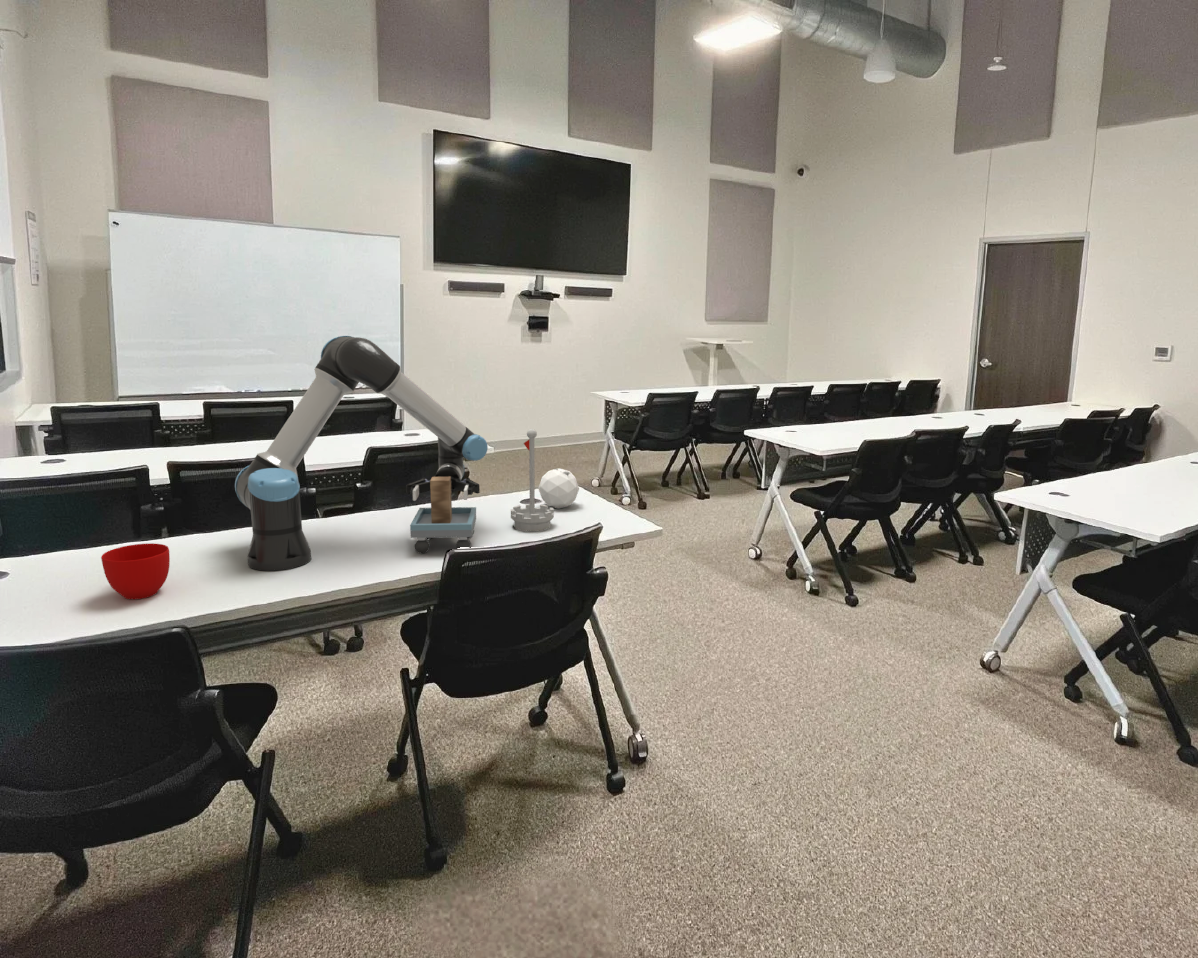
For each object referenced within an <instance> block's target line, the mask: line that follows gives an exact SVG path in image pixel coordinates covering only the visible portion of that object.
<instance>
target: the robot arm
mask: <svg viewBox="0 0 1198 958" xmlns="http://www.w3.org/2000/svg"><path fill="white" fill-rule="evenodd" d="M314 373H315V378H314V379H313V381H312V383H311V384H310V386H308V388H307V390H306V392H305V393H304V394H303V396H302V397H301V399H300V401H299V402H298V404H297V405H296V407H295V408H294V409H293V411H292V413H291V414H290V416H289V417H288V418H287V420H286V421H285V423H284V424H283V426H282V427H281V429H280V430H279V432H278V434H276V437H274V440H273V441H272V442H271V444H270V445H269V447H268V449H267V450H266V451H263V452H259V453H257V454H256V456H255V457H254V458H253V460H252V462H251V463H250V464H249V465H247V466H245V467H244V468H242V469H241V470H240V471H239V473H238V474H237V475H236V477H235V481H234V490H235V493H236V496H237V498H238V500H239V501H240V503H241V504H243V505H244V506H245V507H246V508H248V509H249V510H250V515H251V519H250V520H251V528H252V536H251V537H252V538H251V542H250V545H249V549H248V552H247V555H246V556H247V566H248V568H250V569H252V570H257V571H269V572H270V571H283V570H289V569H290V570H291V569H295V568H298V567H300V566H303V565H307V563H309V562H310V561H311V560H312V550H311V548H310V545H309V542H308V540H307V538H306V536H305V533H304V531H303V523H302V521H303V520H302V509H301V508H302V507H301V495H300V488H301V486H300V482H299V477H298V476H299V475H298V471H297V467H298V466H299V464H300V463H301V461H302V459H303V458H304V457H305V456H306V454H307V452H308V450H309V449H310V448H311V446H312V445H313V442H314V441H315V440H316V439H317V437H318V435H319V434H320V433H321V431H322V430H323V427H324V426H325V424H326V423H327V421H328V419H329V418H330V417H331V415H332V414H333V412H334V411H335V409H336V408H337V406H338V404H339V403H340V401H342V398H343V397H344V396H345V395H347V394H351V393H353V392H354V391H355V389H356V388H357V386H358V384H363V385H365V386H366V387H368V388H370V389H371V390H372V391H374V392H375V393H376V394H383V395H385V397H387V398H388V399H390V400H391V401H392V402H393V403H395V404H396V405H397V406H398V407H399V408H401V409H402V410H404V411H405V412H406V413H407V414H408V415H410V416H411V418H414V420H416V422H418V423H420V424H421V425H422V426H423V427H425V428H426V429H427V430H428V431H430V432H431V433H432V434H434V435H435V436H436V437H437V448H438V469H437V471H436V473H435V474H434V477H451V494H452V493H454V492H462V493H463V500H464V501H468V498H469V496H472V495H473V494H480V493H481V492H480V491H481V490H480V484H479V483H477V482H475V481H474V480H472V479H471V478H470V477H465V478H464V479H463V477H464V475H465V468H466V467H465V465H464V459H466V460H467V461H472V462H473V461H475V462H476V461H481V459H483V458H485V456H486V454H487V453H488V448H489V447H488V442H487V440H486V439H485V438H484V437H483V436H481V435H479V434H476V433H474V432H473V431H472V430H470V428H468V427H467V426H466V425H465V424H463V423H462V422H461V421H460V420H459V419H458V418H456V417H455V416H454V415H452V413H450V412H449V411H448V410H447V409H446V408H444V406H442V405H441V404H440V403H439V402H437V401H436V400H435V399H434V398H432V397H431V396H430V395H429V394H428V393H426V391H425V390H423V389H422V388H421V387H419V386H418V385H417V384H416V383H415V382H414V381H412V380H411V378H409V377H408V376H407V375H405V374H404V373H403V372H402V367H401V365H399V364H398V362H396V361H394V359H393V358H391V357H390V356H389V354H387V353H386V352H385V351H384V350H383V349H382V348H380V347H379V346H378V345H376V343H375V342H373V341H371V340H370V339H367V338H364V337H354V336H352V335H340V336H336V337H333V338H331V339H330V340H328V341H327V342H326V343H325V344H324V345H323V347H322V348H321V352H320V360H319V362H317V364H316V366H315V367H314ZM462 479H463V480H462ZM405 490H406V494H408V495H409V494H410V496H412V501H414V502H415V501H417V499H418V498H419V496H420V494H422V493H426V492H431V490H430V480H428V478H426V477H422V478H421V479H419V480H416V481H413V482H410V483H407V484H406V485H405Z"/></svg>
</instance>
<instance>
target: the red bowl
mask: <svg viewBox="0 0 1198 958" xmlns="http://www.w3.org/2000/svg"><path fill="white" fill-rule="evenodd" d="M100 559H101V564H102V568H103V572H104V574H105V575H104V576H105V578H106V580H107V582H108V584H109V585H110V587H111V589H113V590H114V591H115V592H116V593H118V594H119V595H121V596H122V597H123V598H124V599H126V600H141V599H147V598H149V597H153V596H154V595H156V594H157V593H158V592H159V590H161V589H162V587H163V585H164V584H165V582H166V580H167V578H168V576H169V571H170V562H171V561H170V559H171V558H170V548H169V546H167V545H166V544H162V543H136V544H130V545H124V546H121V547H120V546H119V547H116V548H114V549H113V548H112V549H110V550H107V551H106V552H104V553H102V555H101V557H100Z"/></svg>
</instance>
